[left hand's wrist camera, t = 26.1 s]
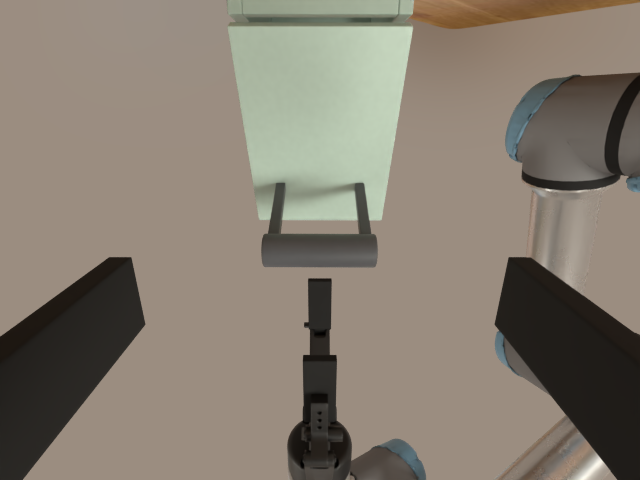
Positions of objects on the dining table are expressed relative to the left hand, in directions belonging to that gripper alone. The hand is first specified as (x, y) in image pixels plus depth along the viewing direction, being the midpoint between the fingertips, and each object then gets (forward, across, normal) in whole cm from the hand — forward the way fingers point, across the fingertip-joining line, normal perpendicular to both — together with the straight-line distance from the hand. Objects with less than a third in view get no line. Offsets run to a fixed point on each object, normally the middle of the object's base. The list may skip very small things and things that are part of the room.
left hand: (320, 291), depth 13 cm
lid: (+15, 0, -4) cm, 15 cm away
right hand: (+19, 0, +13) cm, 23 cm away
